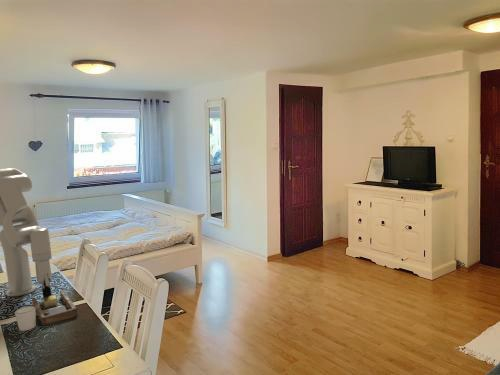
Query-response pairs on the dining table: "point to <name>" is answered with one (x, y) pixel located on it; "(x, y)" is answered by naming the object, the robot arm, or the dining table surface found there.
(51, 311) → the counterweight
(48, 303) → the yellow square block
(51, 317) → the brown wooden tray
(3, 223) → the robot arm
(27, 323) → the white cylinder
